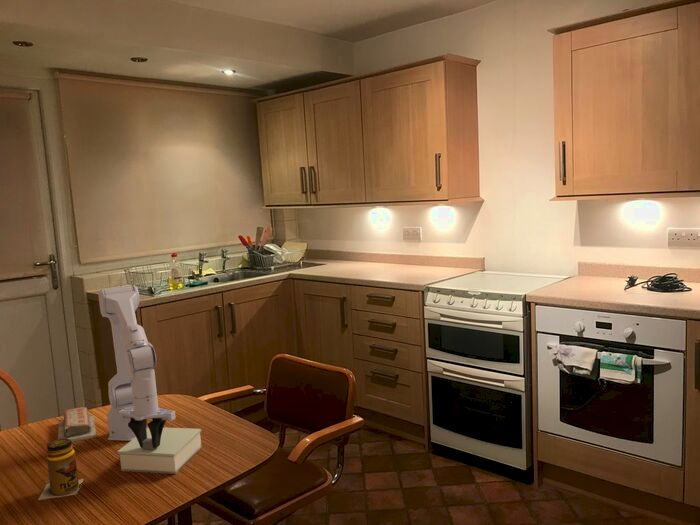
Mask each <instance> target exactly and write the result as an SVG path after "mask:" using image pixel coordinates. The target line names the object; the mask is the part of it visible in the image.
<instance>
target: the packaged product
mask: <svg viewBox="0 0 700 525" xmlns="http://www.w3.org/2000/svg"><path fill="white" fill-rule="evenodd" d="M57 433H58V434H57V439H61V438H68V439H70V440H71V441H72V443H75V442H80V441H83V440H84V441H85V440H88V439H93V437H94V438H96V435H97V434H96V426H95V418H94V414H89V410H88V408H87V407H83V406H80V407H75V408H69V409H66V410H64V412H63V419H62V418H61V419H59V420H58V430H57Z"/></svg>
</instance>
